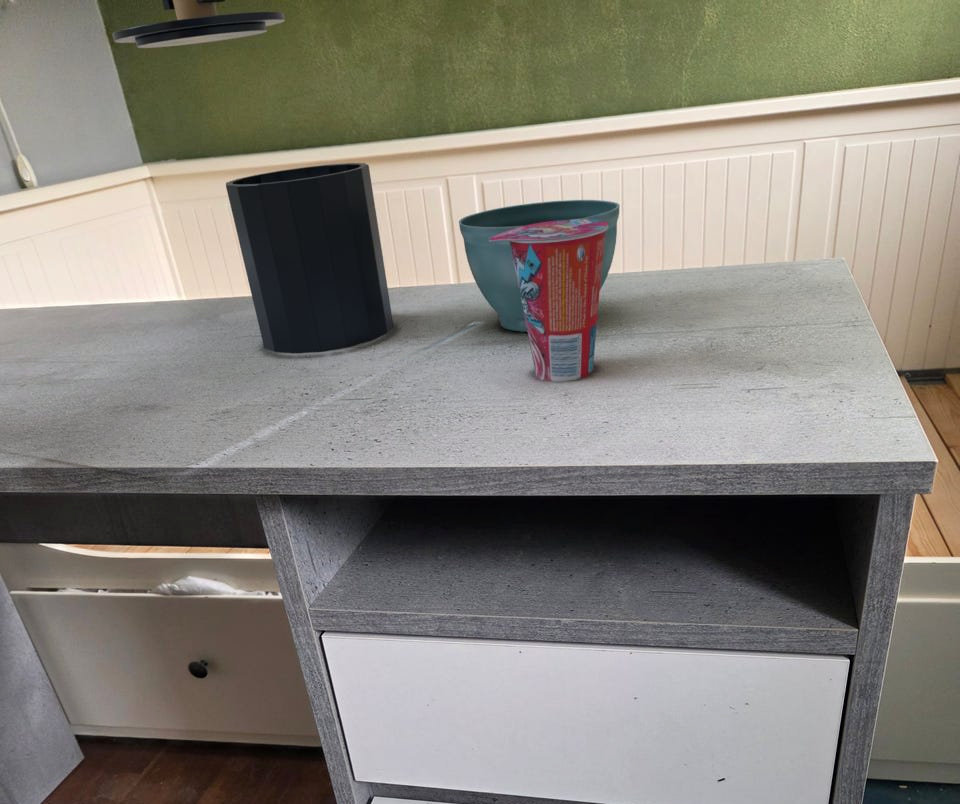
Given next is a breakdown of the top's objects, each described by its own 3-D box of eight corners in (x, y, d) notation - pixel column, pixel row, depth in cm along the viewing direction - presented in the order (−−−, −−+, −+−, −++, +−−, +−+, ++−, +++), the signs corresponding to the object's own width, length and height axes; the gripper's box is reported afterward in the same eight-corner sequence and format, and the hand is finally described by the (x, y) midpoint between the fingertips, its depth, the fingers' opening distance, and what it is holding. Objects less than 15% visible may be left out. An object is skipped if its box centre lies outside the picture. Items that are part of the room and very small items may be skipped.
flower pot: (497, 305, 103) (488, 203, 97) (634, 301, 98) (633, 193, 92) (448, 344, 91) (434, 231, 85) (602, 342, 85) (599, 221, 79)
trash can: (237, 354, 97) (195, 187, 88) (321, 319, 106) (291, 166, 97) (338, 362, 90) (303, 182, 81) (418, 324, 99) (395, 159, 90)
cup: (568, 353, 83) (561, 215, 77) (631, 369, 77) (630, 220, 71) (490, 379, 79) (476, 235, 73) (550, 397, 73) (541, 243, 67)
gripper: (218, -403, 64) (291, -10, 77) (77, -329, 73) (164, 16, 85) (138, -435, 59) (230, -8, 72) (-4, -351, 67) (101, 19, 80)
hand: (194, 4), depth 79 cm, fingers closed on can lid, 4 cm apart
